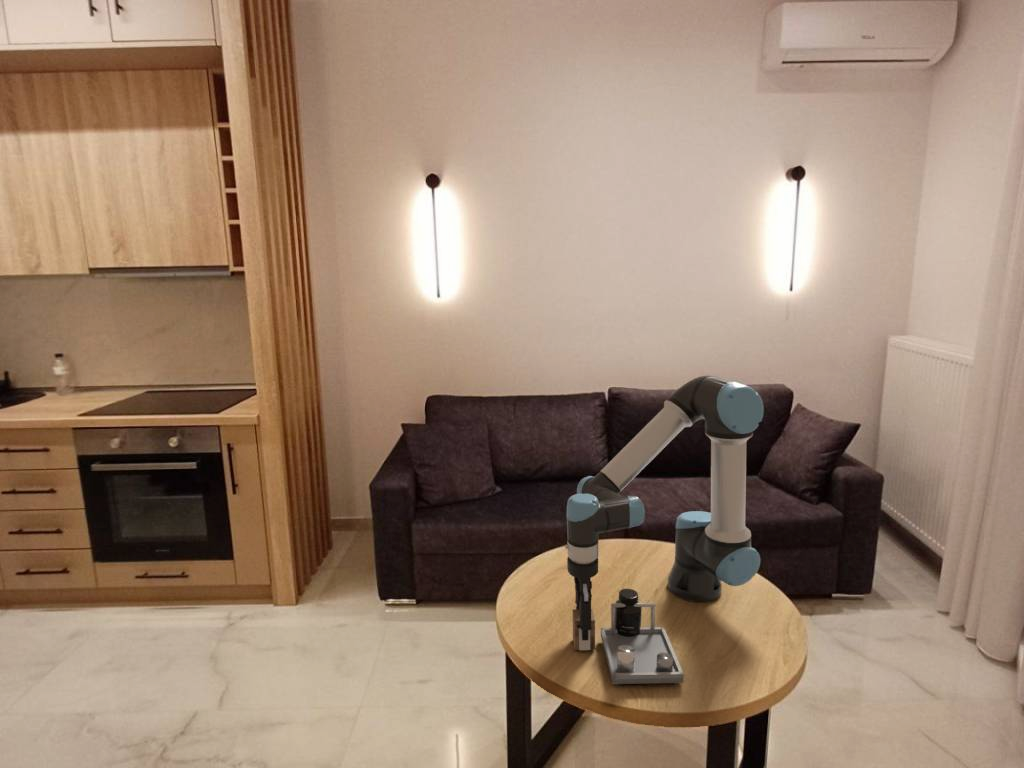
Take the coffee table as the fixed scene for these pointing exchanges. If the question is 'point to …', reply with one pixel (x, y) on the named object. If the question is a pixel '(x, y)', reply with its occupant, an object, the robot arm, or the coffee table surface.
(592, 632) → the walnut block
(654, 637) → the grey tray with handle
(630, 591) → the supplement bottle
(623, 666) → the silver rounded piece
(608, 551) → the coffee table surface
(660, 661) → the silver metal dome
